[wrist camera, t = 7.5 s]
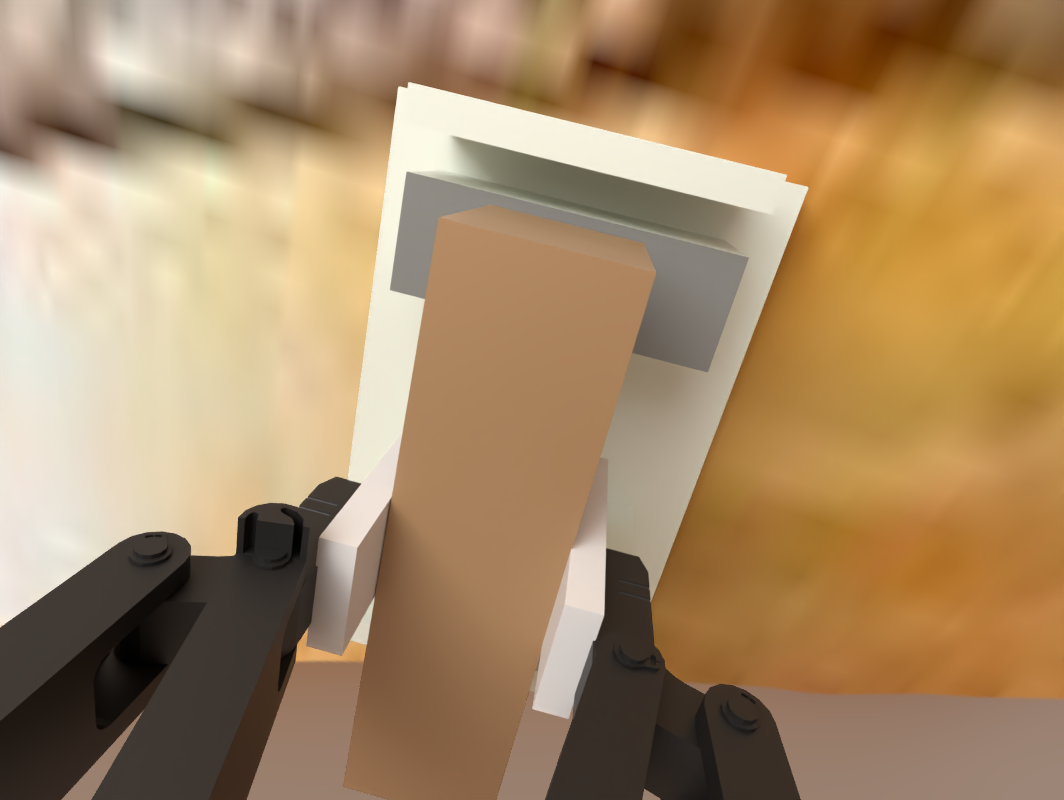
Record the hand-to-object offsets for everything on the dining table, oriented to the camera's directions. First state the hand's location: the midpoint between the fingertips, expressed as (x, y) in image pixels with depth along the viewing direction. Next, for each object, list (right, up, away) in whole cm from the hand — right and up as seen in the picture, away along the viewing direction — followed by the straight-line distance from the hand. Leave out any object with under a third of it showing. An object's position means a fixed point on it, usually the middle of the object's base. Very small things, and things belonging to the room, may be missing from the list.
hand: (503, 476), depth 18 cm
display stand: (+1, +3, +8) cm, 9 cm away
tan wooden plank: (0, 0, 0) cm, 0 cm away
